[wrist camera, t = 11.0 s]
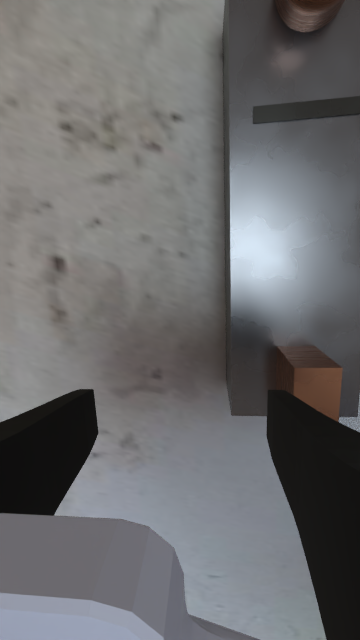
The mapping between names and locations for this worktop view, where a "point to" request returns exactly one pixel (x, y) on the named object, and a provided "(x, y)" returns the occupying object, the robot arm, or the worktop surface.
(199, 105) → the worktop surface
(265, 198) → the hand plane
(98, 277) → the worktop surface
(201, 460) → the worktop surface
